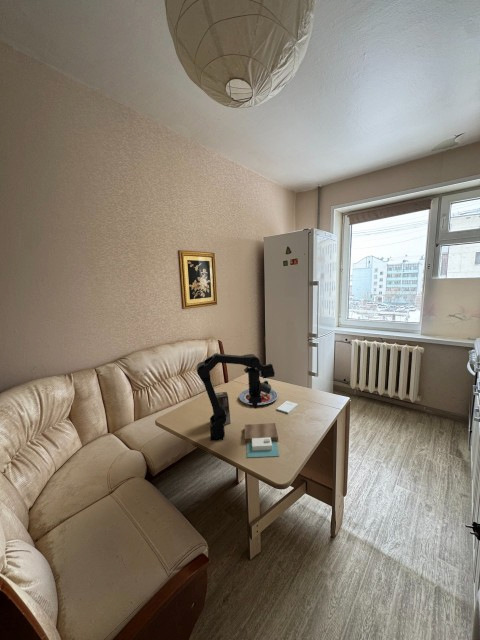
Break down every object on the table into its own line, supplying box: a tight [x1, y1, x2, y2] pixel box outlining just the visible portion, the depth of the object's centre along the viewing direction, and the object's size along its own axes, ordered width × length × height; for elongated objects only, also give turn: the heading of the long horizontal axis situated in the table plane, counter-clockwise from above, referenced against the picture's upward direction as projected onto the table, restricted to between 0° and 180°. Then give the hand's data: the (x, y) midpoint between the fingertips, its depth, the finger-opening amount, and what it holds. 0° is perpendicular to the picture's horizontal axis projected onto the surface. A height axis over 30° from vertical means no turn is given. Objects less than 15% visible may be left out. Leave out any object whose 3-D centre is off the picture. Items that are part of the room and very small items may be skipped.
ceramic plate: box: [238, 388, 279, 406], centre depth 163 cm, size 26×26×3 cm
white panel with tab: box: [252, 437, 272, 450], centre depth 113 cm, size 9×6×3 cm, turn 89°
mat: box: [246, 441, 280, 459], centre depth 111 cm, size 14×10×1 cm
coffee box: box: [215, 391, 232, 425], centre depth 136 cm, size 9×6×16 cm
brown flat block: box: [244, 422, 279, 444], centre depth 122 cm, size 16×12×2 cm
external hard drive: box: [275, 400, 299, 415], centre depth 147 cm, size 2×8×12 cm
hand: (255, 408), depth 126 cm, fingers closed
